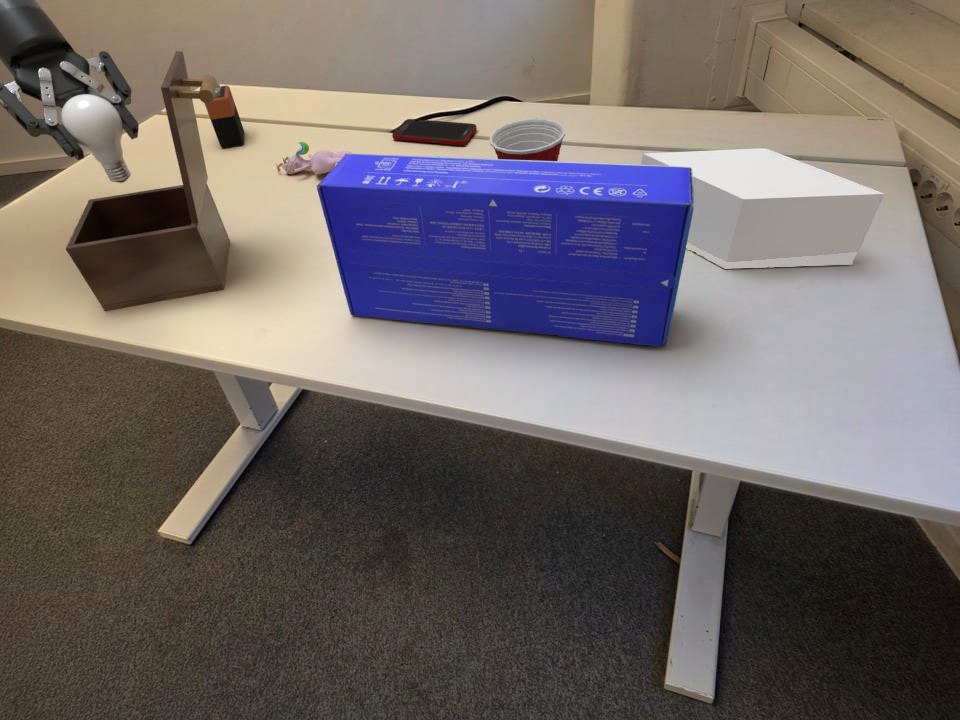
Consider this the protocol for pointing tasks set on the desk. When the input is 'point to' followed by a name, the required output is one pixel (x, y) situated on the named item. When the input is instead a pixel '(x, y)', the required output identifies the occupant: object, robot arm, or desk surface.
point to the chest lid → (187, 128)
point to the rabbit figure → (312, 161)
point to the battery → (225, 118)
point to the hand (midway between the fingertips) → (108, 145)
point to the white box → (771, 205)
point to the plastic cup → (528, 140)
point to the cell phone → (435, 132)
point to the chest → (149, 247)
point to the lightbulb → (97, 132)
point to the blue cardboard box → (511, 243)
